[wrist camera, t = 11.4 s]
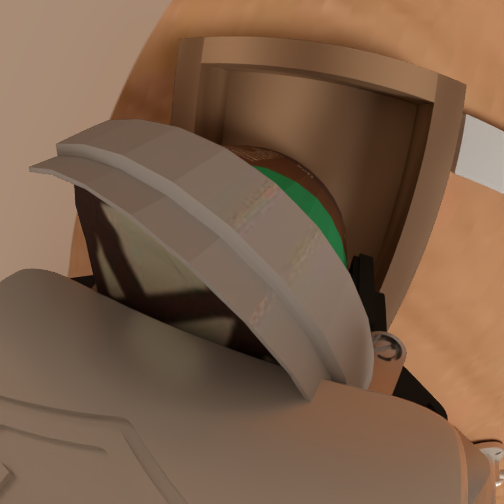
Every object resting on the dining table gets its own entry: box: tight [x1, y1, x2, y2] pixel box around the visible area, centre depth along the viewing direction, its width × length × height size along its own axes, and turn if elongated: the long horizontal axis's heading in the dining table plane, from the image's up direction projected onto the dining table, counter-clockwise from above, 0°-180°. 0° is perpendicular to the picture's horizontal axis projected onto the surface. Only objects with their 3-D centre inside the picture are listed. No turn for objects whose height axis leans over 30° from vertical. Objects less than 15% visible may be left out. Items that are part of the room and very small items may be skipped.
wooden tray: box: [171, 36, 466, 331], centre depth 14 cm, size 11×17×4 cm, turn 173°
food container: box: [29, 119, 374, 402], centre depth 9 cm, size 12×6×10 cm, turn 179°
